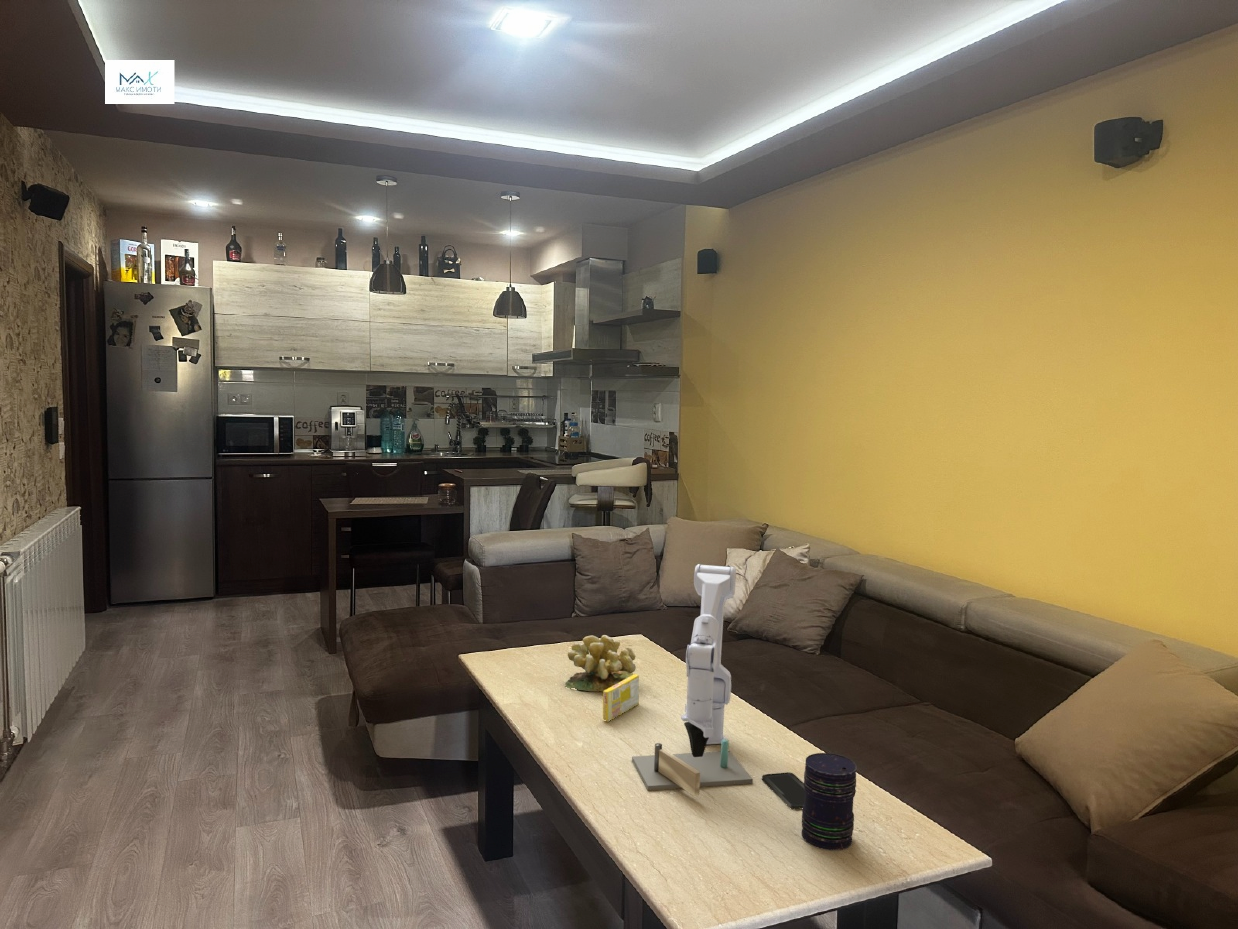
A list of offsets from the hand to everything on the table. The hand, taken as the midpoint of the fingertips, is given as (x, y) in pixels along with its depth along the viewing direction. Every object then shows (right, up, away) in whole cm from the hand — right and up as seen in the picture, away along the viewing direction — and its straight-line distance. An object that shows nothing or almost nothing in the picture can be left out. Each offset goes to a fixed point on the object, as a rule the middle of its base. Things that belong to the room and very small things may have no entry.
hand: (697, 755), depth 188 cm
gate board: (-1, -5, +3) cm, 6 cm away
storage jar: (+23, -8, -24) cm, 34 cm away
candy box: (-17, -2, +38) cm, 42 cm away
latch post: (+6, -5, +4) cm, 9 cm away
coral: (-24, 0, +61) cm, 65 cm away
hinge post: (-9, -5, +1) cm, 10 cm away
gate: (-5, -4, -6) cm, 8 cm away
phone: (+20, -7, -5) cm, 22 cm away
